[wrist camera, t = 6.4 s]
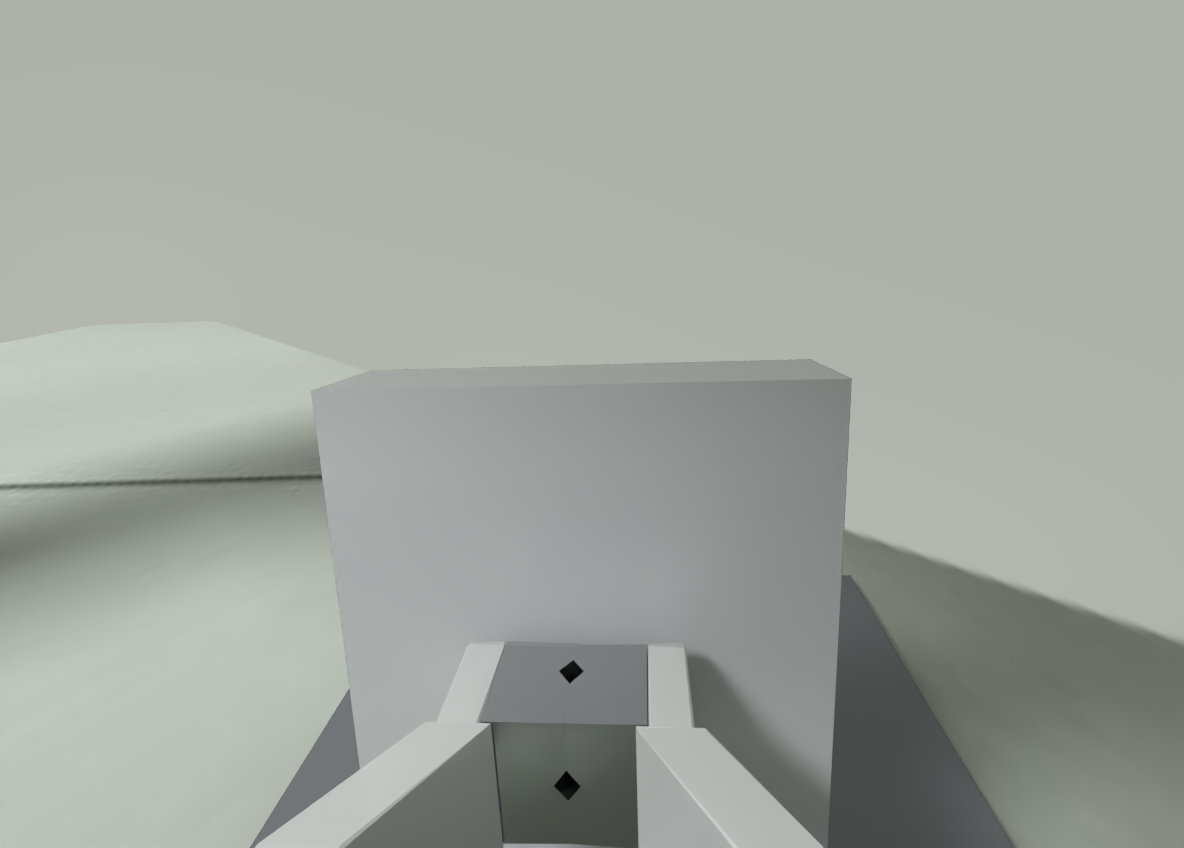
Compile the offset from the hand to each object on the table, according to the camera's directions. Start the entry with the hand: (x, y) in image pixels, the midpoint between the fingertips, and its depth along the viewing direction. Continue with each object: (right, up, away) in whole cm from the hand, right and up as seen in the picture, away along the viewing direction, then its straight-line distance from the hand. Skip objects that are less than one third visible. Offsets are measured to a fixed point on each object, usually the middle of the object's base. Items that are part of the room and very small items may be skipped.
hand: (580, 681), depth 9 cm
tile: (0, -7, +3) cm, 8 cm away
